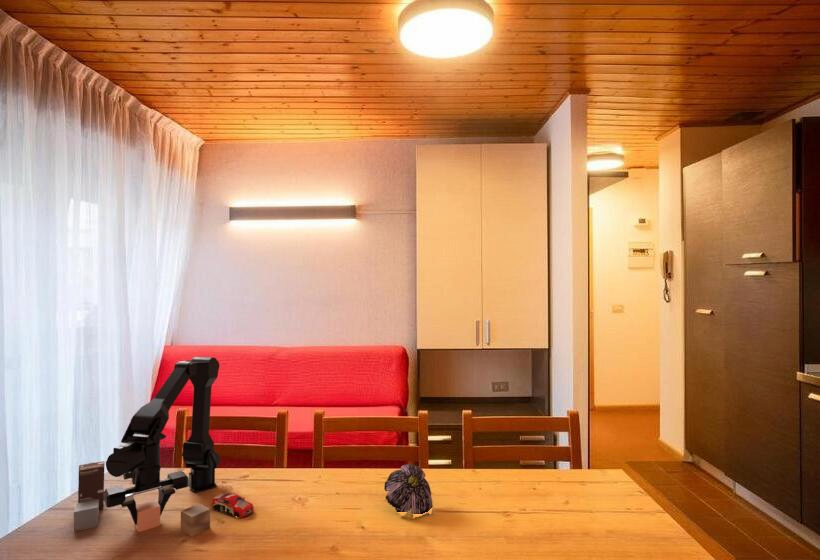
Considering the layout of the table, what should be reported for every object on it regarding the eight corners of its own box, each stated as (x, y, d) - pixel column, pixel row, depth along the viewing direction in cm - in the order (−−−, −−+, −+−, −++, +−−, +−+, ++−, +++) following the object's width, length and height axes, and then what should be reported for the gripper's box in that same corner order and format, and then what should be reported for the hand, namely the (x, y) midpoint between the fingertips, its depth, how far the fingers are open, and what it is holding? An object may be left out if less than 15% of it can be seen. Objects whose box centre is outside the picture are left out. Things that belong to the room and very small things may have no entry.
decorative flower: (386, 487, 125) (393, 450, 139) (375, 520, 128) (383, 481, 143) (439, 502, 125) (440, 464, 139) (427, 535, 128) (429, 495, 143)
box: (77, 514, 127) (78, 470, 127) (78, 507, 131) (78, 464, 131) (104, 509, 131) (104, 465, 131) (104, 502, 135) (104, 460, 134)
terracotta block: (155, 517, 126) (155, 499, 126) (160, 525, 123) (160, 506, 123) (134, 523, 123) (134, 504, 123) (138, 532, 119) (138, 512, 119)
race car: (257, 513, 130) (257, 498, 130) (241, 521, 126) (242, 507, 125) (225, 501, 137) (225, 487, 137) (209, 509, 132) (209, 494, 132)
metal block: (198, 522, 125) (199, 503, 125) (210, 528, 122) (210, 508, 122) (180, 530, 121) (180, 511, 120) (191, 537, 118) (191, 516, 118)
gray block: (98, 517, 126) (98, 499, 126) (97, 526, 122) (97, 507, 122) (75, 522, 124) (75, 503, 124) (73, 531, 119) (73, 512, 119)
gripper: (177, 444, 135) (177, 498, 135) (100, 460, 123) (99, 519, 123) (189, 455, 126) (188, 513, 127) (107, 474, 114) (106, 538, 115)
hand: (147, 520), depth 123 cm, fingers closed on terracotta block, 5 cm apart
